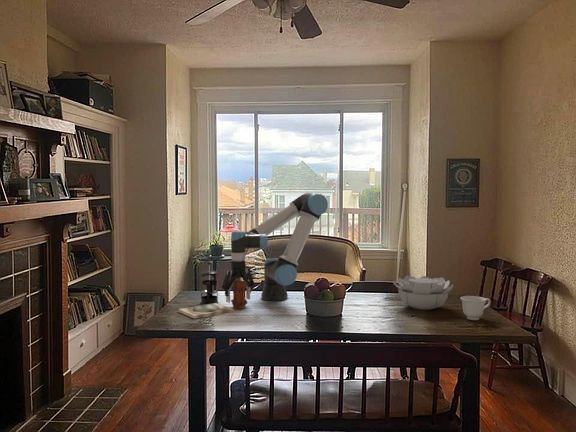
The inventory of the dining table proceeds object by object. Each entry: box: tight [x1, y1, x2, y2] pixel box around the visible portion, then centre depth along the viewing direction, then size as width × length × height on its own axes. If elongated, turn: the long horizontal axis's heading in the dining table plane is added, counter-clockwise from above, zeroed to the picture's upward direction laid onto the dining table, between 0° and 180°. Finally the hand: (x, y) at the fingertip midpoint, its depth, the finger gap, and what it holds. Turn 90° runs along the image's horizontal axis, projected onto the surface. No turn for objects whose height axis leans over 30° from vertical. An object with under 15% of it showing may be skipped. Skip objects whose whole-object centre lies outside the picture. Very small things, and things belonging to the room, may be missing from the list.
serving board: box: [178, 303, 234, 320], centre depth 255 cm, size 22×17×2 cm
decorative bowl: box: [392, 275, 454, 311], centre depth 266 cm, size 30×30×15 cm
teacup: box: [460, 295, 492, 321], centre depth 244 cm, size 12×15×10 cm
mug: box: [230, 278, 248, 310], centre depth 266 cm, size 15×8×15 cm, turn 16°
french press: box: [200, 260, 219, 305], centre depth 275 cm, size 12×9×23 cm
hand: (238, 300), depth 266 cm, fingers open, 12 cm apart
